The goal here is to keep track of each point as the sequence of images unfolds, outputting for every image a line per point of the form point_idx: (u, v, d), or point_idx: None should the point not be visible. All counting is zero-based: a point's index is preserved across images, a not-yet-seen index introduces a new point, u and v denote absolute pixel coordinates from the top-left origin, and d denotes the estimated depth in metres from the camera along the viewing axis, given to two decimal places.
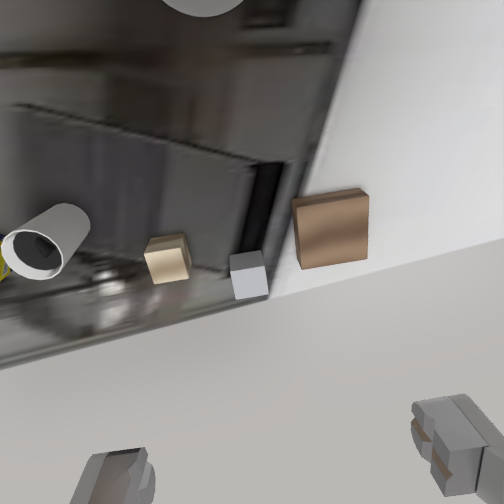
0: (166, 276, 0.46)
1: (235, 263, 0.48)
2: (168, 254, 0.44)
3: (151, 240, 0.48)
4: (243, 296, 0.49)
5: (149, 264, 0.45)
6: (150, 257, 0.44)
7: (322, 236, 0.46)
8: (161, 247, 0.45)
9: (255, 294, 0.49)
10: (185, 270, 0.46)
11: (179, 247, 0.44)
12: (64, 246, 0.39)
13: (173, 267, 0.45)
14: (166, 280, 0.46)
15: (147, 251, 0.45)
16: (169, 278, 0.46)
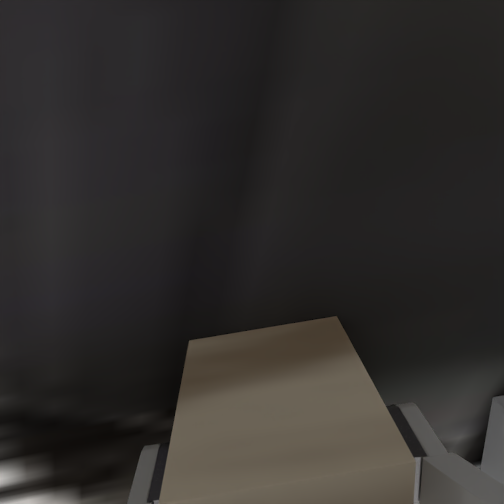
0: None
1: None
2: (328, 500, 0.06)
3: (193, 357, 0.10)
4: None
5: None
6: None
7: None
8: (265, 431, 0.07)
9: None
10: None
11: (415, 462, 0.06)
12: None
13: None
14: None
15: (182, 472, 0.07)
16: None
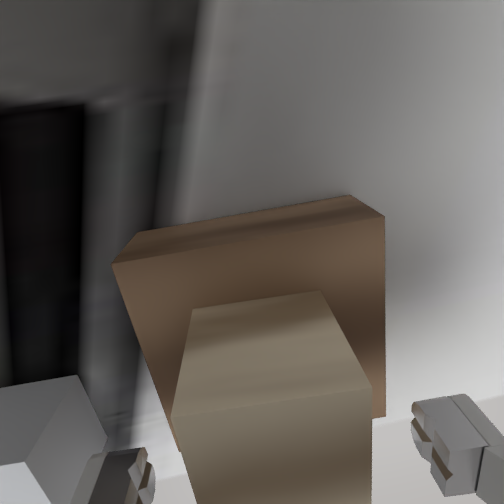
0: None
1: None
2: (304, 420, 0.08)
3: (196, 321, 0.12)
4: None
5: (195, 464, 0.09)
6: (202, 435, 0.08)
7: None
8: (255, 370, 0.09)
9: None
10: (366, 484, 0.09)
11: (371, 388, 0.08)
12: None
13: (314, 474, 0.09)
14: None
15: (188, 398, 0.08)
16: None
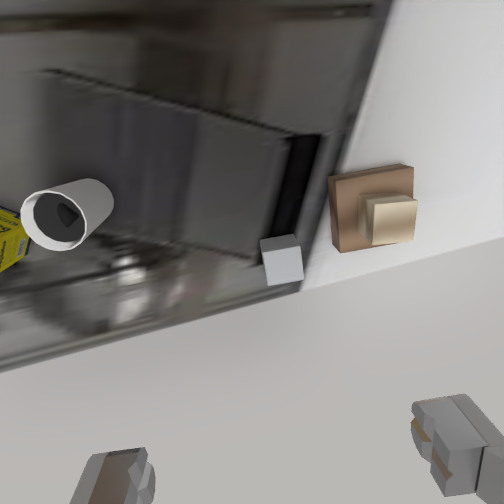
0: (389, 236, 0.39)
1: (267, 245, 0.44)
2: (402, 208, 0.37)
3: (363, 196, 0.41)
4: (275, 281, 0.44)
5: (376, 219, 0.38)
6: (380, 210, 0.37)
7: None
8: (389, 200, 0.38)
9: (289, 279, 0.44)
10: (412, 230, 0.39)
11: (417, 200, 0.37)
12: (88, 213, 0.35)
13: (401, 225, 0.38)
14: (387, 241, 0.39)
15: (376, 203, 0.38)
16: (391, 239, 0.39)
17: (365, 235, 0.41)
